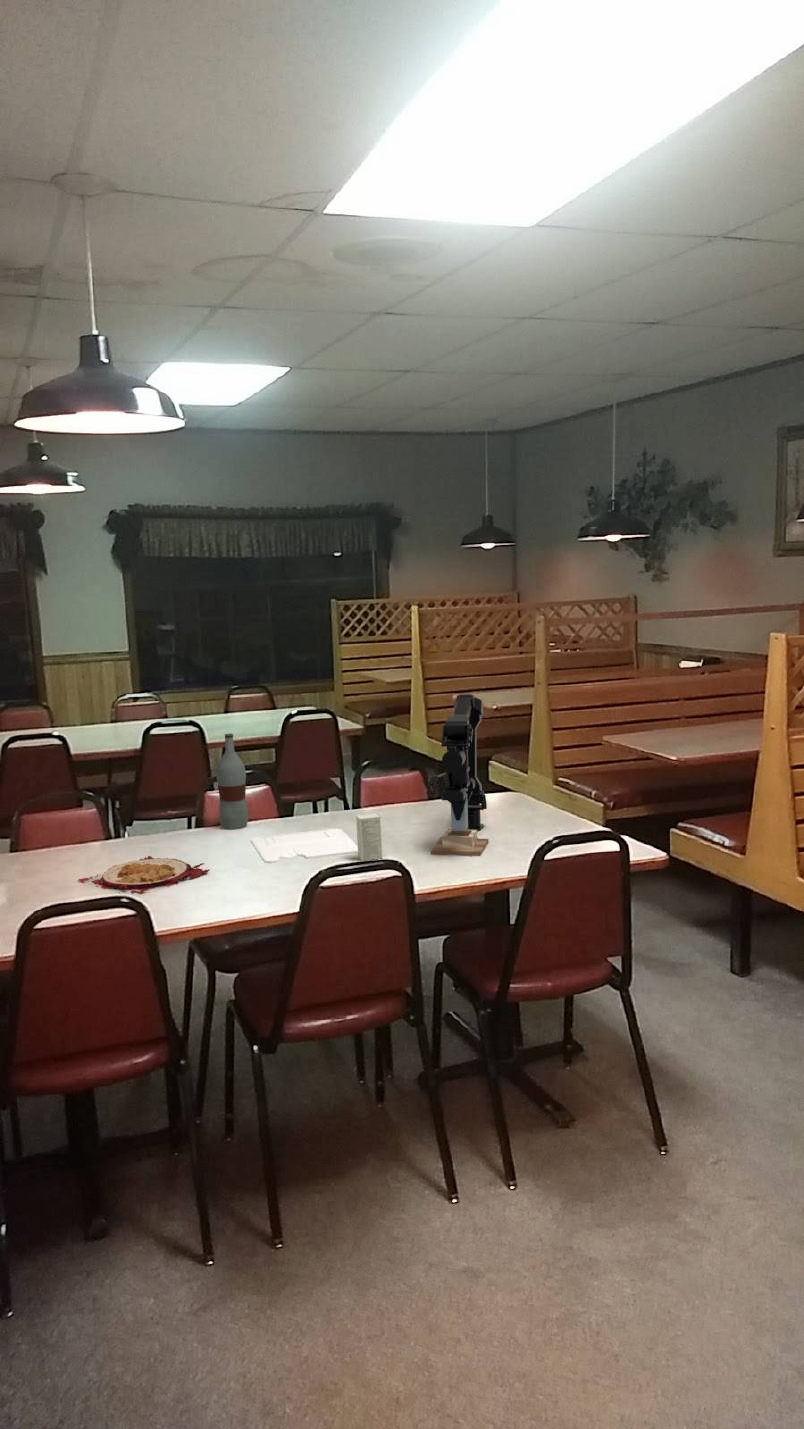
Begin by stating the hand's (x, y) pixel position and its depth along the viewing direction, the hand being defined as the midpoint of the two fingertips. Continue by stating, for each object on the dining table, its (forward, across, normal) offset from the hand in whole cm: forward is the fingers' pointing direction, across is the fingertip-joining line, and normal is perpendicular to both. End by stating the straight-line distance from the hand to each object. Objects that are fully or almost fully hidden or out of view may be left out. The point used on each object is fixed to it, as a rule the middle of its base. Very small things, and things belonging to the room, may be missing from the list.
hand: (459, 818), depth 273 cm
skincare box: (+9, +13, -23) cm, 28 cm away
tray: (+10, +3, -46) cm, 47 cm away
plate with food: (+10, +39, -78) cm, 88 cm away
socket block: (+9, 0, 0) cm, 9 cm away
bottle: (+9, -16, -77) cm, 79 cm away
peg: (+3, 0, 0) cm, 3 cm away
